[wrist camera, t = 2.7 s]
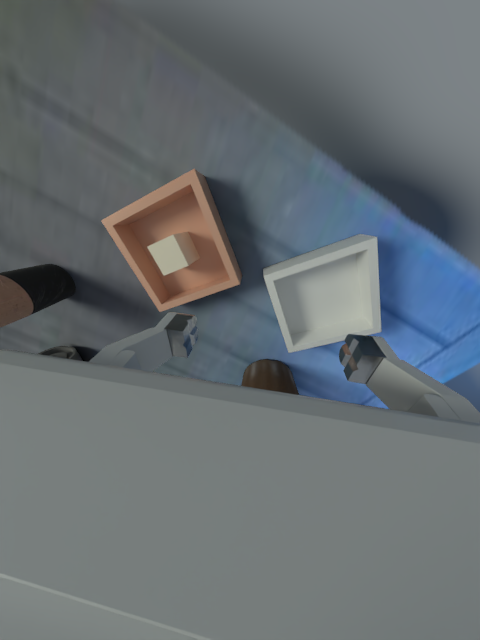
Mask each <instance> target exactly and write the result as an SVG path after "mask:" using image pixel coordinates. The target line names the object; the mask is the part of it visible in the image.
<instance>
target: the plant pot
mask: <svg viewBox="0 0 480 640" xmlns="http://www.w3.org/2000/svg"><path fill="white" fill-rule="evenodd" d="M241 386H244V387H251V388H257V389H263V390H270V391H276V392H282V393H289V394H295V395H299V393H298V390H297V387H296V384H295V381H294V378H293V375H292V372H291V371H290V369H289V368H288V367H287V366H286V365H285V364H283V363H282V362H280V361H277V360H275V361H271V360H268V359H263V360H259V361H256V362H254V363H252V364H251V365H249V366H248V367H247V368H246V370H245V372H244V375H243V380H242V385H241Z"/></svg>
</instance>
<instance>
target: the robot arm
mask: <svg viewBox="0 0 480 640" xmlns="http://www.w3.org/2000/svg"><path fill="white" fill-rule="evenodd" d="M196 323H197V318H196V316H195V315H189V314H182V313H174V312H168V313H167V314H166V315H165V317H164V318H163V319H162V320H161V321H160V322H159V323H158V324H157V325H156V326H155V328H149V329H147V330H144V331H142V332H140V333H137V334H135V335H132V336H130V337H127V338H125V339H122V340H120V341H117V342H115V343H112V344H110V345H108V346H106V347H104V348H103V349H102V350H101V351H100V352H99V353H98V354H97V355H95V356H94V357H93V358H92V359H91V360H90V361H89V362H85V361H79V360H73V359H66V358H60V357H53V356H47V355H41V354H34V353H28V352H22V351H16V350H0V640H480V413H479V412H478V411H477V410H476V408H474V406H473V405H472V404H471V403H470V402H469V401H468V400H467V399H466V398H464V397H462V396H461V395H459V394H458V393H456V392H454V391H453V390H451V389H449V388H448V387H446V386H445V385H443V384H441V383H440V382H438V381H436V380H435V379H433V378H432V377H430V376H428V375H427V374H425V373H423V372H422V371H420V370H418V369H417V368H415V367H414V366H412V365H410V364H409V363H407V362H405V361H404V360H400V359H399V358H398V357H397V355H396V354H395V353H394V352H393V350H392V349H391V348H390V346H389V345H388V344H387V342H386V341H385V340H384V338H382V337H377V336H365V335H355V334H348V335H347V336H346V338H345V342H346V344H345V345H343V346H342V347H341V349H340V352H339V359H340V362H341V364H342V365H343V366H344V367H345V369H344V373H345V375H346V378H347V380H348V381H351V382H357V383H362V384H366V386H367V387H368V388H369V389H370V390H371V391H372V392H373V393H374V394H375V395H376V396H377V397H378V398H379V399H380V400H381V401H382V402H383V403H384V404H385V405H386V406H387V407H388V408H389V409H384V408H378V407H371V406H365V405H359V404H352V403H346V402H340V401H333V400H327V399H320V398H314V397H308V396H301V395H295V394H289V393H282V392H276V391H270V390H263V389H257V388H251V387H244V386H238V385H232V384H225V383H219V382H212V381H206V380H199V379H193V378H186V377H180V376H174V375H168V374H162V373H155V372H152V371H153V370H155V369H156V368H157V367H159V366H160V365H162V364H163V363H165V362H166V361H167V360H169V359H170V358H172V357H173V356H177V357H185V358H188V356H189V354H190V352H191V351H192V345H194V344H195V343H196V341H197V338H198V328H197V327H196Z"/></svg>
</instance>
